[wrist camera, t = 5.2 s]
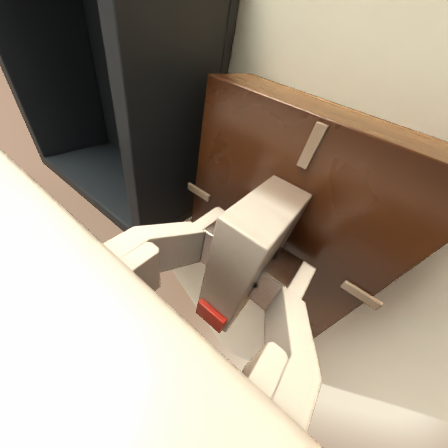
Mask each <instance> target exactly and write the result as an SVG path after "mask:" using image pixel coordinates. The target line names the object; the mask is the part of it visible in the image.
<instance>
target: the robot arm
mask: <svg viewBox="0 0 448 448" xmlns="http://www.w3.org/2000/svg"><path fill="white" fill-rule="evenodd" d="M223 212H224V210H223V209H221V208H220V207H216V208H214V209H213V210H211V211H210V212H208V213H207V214H205V215H204V216H202V217H201V218H199V219H198V220H196V221H195V222H193V223H192V222H190V221H188V222H177V223H165V224H154V225H143V226H134V227H132V228H130V229H128V230H126V231H125V232H123V233H121V234H119V235H118V236H116V237H114V238H112V239H110V240H108V241H106V242H105V243H102V242H101V241H100V240H99V239H97V238H96V237H95V236H94V235H93V234H92V233H91V232H90V231H89V230H88V229H87V228H86V227H85V226H83V225H82V224H81V223H80V222H79V221H78V220H77V219H76V218H75V217H74V216H73V215H72V214H71V213H69V212H68V211H67V210H66V209H65V208H64V207H63V206H62V205H61V204H60V203H59V202H58V201H56V200H55V199H54V198H53V197H52V196H51V195H50V194H49V193H48V192H47V191H46V190H45V189H43V188H42V187H41V186H40V185H39V184H38V183H37V182H36V181H35V180H34V179H33V178H32V177H31V176H29V175H28V174H27V173H26V172H25V171H24V170H23V169H22V168H21V167H20V166H19V165H18V164H16V163H15V162H14V161H13V160H12V159H11V158H10V157H9V156H8V155H7V154H6V153H4V152H3V151H2V150H0V448H323V447H322V446H321V445H320V444H319V443H318V442H317V441H316V440H314V439H313V438H312V437H311V436H310V435H309V434H308V433H307V431H308V428H309V425H310V421H311V418H312V414H313V411H314V407H315V404H316V401H317V397H318V394H319V390H320V387H321V384H322V376H321V371H320V367H319V362H318V358H317V353H316V349H315V344H314V339H313V335H312V330H311V326H310V321H309V317H308V312H307V308H306V303H305V302H304V301H303V300H302V298H303V296H304V294H305V292H306V290H307V288H308V286H309V284H310V281H311V279H312V277H313V275H314V273H315V271H316V268H315V267H313V266H311V265H310V264H308V263H307V262H305V261H303V260H301V259H300V258H298V257H297V256H295V255H293V254H292V253H290V252H289V251H287V250H285V249H284V248H282V247H280V248H279V249H278V250H277V252H276V253H275V255H274V257H273V259H271V260H270V261H269V262H268V264H267V265H266V266H265V268H264V269H263V270H262V272H261V274H260V275H259V277H258V279H257V281H256V284H255V285H254V287H253V288H252V290H251V292H250V293H249V295H248V297H249V298H250V299H251V300H252V301H254V302H255V303H256V304H257V305H259V306H260V307H261V308H262V309H264V310H265V346H264V347H263V348H262V349H261V350H260V351H259V352H258V353H257V354H256V355H255V356H254V357H253V358H252V359H251V360H250V361H249V362H248V363H247V364H246V365H245V367H244V369H243V371H242V372H241V371H240V370H239V369H238V368H237V367H236V366H235V365H234V364H232V363H231V362H230V361H229V360H228V359H227V358H226V357H225V356H224V355H223V354H222V353H220V351H218V350H217V349H216V348H215V347H214V346H213V345H212V344H211V343H210V342H209V341H208V340H207V339H205V338H204V337H203V336H202V335H201V334H200V333H199V332H198V331H197V330H196V329H195V328H194V327H192V326H191V325H190V324H189V323H188V322H187V321H186V320H185V319H184V318H183V317H182V316H181V315H180V314H178V313H177V312H176V311H175V310H174V309H173V308H172V307H171V306H170V305H169V304H168V303H167V302H166V301H164V300H163V299H162V298H161V297H160V296H159V295H158V294H157V293H156V292H155V291H156V290H157V289H158V288H159V287H160V272H164V271H168V270H171V269H175V268H179V267H182V266H186V265H190V264H193V263H197V262H200V261H201V262H203V263H204V264H205V265H207V261H208V256H209V252H210V247H211V243H212V238H213V234H214V229H215V225H216V220H217V217H218V216H219V215H220V214H222V213H223Z"/></svg>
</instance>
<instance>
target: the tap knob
mask: <svg viewBox="0 0 448 448" xmlns="http://www.w3.org/2000/svg"><path fill="white" fill-rule="evenodd" d="M311 198H312V194H310V193H308V192H306V191H304V190H302V189H300V188H298V187H297V186H295V185H293V184H291V183H289V182H287V181H285V180H283V179H281V178H279V177H277V176H275V175H273V176H272V177H271V178H269V179H268V180H267V181H265V182H264V183H262V184H261V185H260V186H258V187H257V188H256V189H254V190H253V191H252V192H250V193H249V194H247V195H246V196H245V197H243V198H242V199H241V200H239V201H238V202H237V203H235V204H234V205H233V206H231V207H230V208H228V209H227V210H226V211H224V212H223V213H222V214H220V215H219V216H218V217H217V220H216V225H215V229H214V234H213V238H212V243H211V247H210V252H209V256H208V261H207V265H206V270H205V274H204V278H203V283H202V287H201V292H200V296H199V301H198V305H197V309H196V313H197V314H198V315H199V316H200V317H202V318H203V319H204V320H205V321H206V322H207V323H208V324H209V325H211V326H212V327H213V328H214V329H215V330H216V331H217V332H218V333H220V332H221V331H222V330H223V331H224V332H226V331H227V329H228V328H229V327H230V325H231V324H232V322H233V321H234V320H235V318H236V317H237V315H238V314H239V313H240V311H241V310H242V309H243V307H244V306H245V304H246V303H247V302H248V300H249V299H250V298H249V297H248V295H249V293H250V292H251V290H252V288H253V287H254V285H255V284H256V281H257V279H258V277H259V275H260V274H261V272H262V270H263V269H264V268H265V266H266V265H267V264H268V262H269V261H270V260H271V259H273V257H274V255H275V253H276V252H277V250H278V249H279V248H280V247H283V246H284V244H285V242H286V241H287V239H288V237H289V235H290V234H291V232H292V230H293V229H294V227H295V225H296V224H297V222H298V220H299V219H300V217H301V215H302V213H303V212H304V210H305V208H306V207H307V205H308V203H309V202H310V200H311Z"/></svg>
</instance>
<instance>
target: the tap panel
mask: <svg viewBox="0 0 448 448" xmlns="http://www.w3.org/2000/svg"><path fill="white" fill-rule="evenodd" d="M273 175H275V176H277V177H279V178H281V179H283V180H285V181H287V182H289V183H291V184H293V185H295V186H297V187H298V188H300V189H302V190H304V191H306V192H308V193H310V194H312V198H311V200H310V202H309V203H308V205H307V207H306V208H305V210H304V212H303V213H302V215H301V217H300V219H299V220H298V222H297V224H296V225H295V227H294V229H293V230H292V232H291V234H290V235H289V237H288V239H287V241H286V242H285V244H284V246H283V247H282V248H284V249H285V250H287V251H289V252H290V253H292V254H293V255H295V256H297V257H298V258H300V259H301V260H303V261H305V262H307V263H308V264H310V265H311V266H313V267H315V268H316V271H315V273H314V275H313V277H312V279H311V281H310V284H309V286H308V288H307V290H306V292H305V294H304V296H303V298H302V300H303V301H304V302H305V303H306V308H307V312H308V317H309V321H310V326H311V330H312V335H313V338H315V337H316V336H317V335H319V334H320V333H322V332H323V331H325V330H326V329H327V328H329V327H330V326H332V325H333V324H334V323H336V322H337V321H339V320H340V319H341V318H343V317H344V316H346V315H347V314H348V313H350V312H351V311H353V310H354V309H355V308H357V307H358V306H360V305H361V304H362V303H366V304H367V305H369V306H371V307H372V308H374V309H375V310H376V309H378V308H380V307H381V306H382V304H383V303H382V302H381V301H379V300H377V299H376V298H374V297H373V296H374V295H375V294H377V293H378V292H379V291H381V290H382V289H384V288H385V287H386V286H388V285H389V284H391V283H392V282H393V281H395V280H396V279H398V278H399V277H400V276H402V275H403V274H405V273H406V272H407V271H409V270H410V269H412V268H413V267H414V266H416V265H417V264H419V263H420V262H421V261H423V260H424V259H426V258H427V257H429V256H430V255H431V254H433V253H434V252H436V251H437V250H438V249H440V248H441V247H443V246H444V245H445V244H447V243H448V142H446V141H443V140H440V139H438V138H435V137H432V136H429V135H426V134H423V133H420V132H417V131H415V130H412V129H409V128H406V127H403V126H400V125H397V124H394V123H391V122H389V121H386V120H383V119H380V118H377V117H374V116H371V115H368V114H365V113H363V112H360V111H357V110H354V109H351V108H348V107H345V106H342V105H340V104H337V103H334V102H331V101H328V100H325V99H322V98H319V97H316V96H314V95H311V94H308V93H305V92H302V91H299V90H296V89H293V88H290V87H288V86H285V85H282V84H279V83H276V82H273V81H270V80H267V79H265V78H262V77H259V76H256V75H253V74H208V80H207V89H206V97H205V106H204V115H203V123H202V132H201V141H200V150H199V158H198V167H197V176H196V185H193V184H192V183H188V190H190V191H191V192H193V193H194V202H193V211H192V220H191V222H192V223H193V222H195V221H196V220H198V219H199V218H201V217H202V216H204V215H205V214H207V213H208V212H210V211H211V210H213V209H214V208H216V207H220V208H221V209H223V210H224V211H226V210H227V209H228V208H230V207H231V206H233V205H234V204H235V203H237V202H238V201H239V200H241V199H242V198H243V197H245V196H246V195H247V194H249V193H250V192H252V191H253V190H254V189H256V188H257V187H258V186H260V185H261V184H262V183H264V182H265V181H267V180H268V179H269V178H271V177H272V176H273Z"/></svg>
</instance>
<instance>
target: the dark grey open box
mask: <svg viewBox="0 0 448 448" xmlns="http://www.w3.org/2000/svg"><path fill="white" fill-rule="evenodd" d="M238 4H239V0H0V66H1V68H2V71H3V73H4V75H5V78H6V80H7V82H8V84H9V87H10V89H11V91H12V94H13V96H14V98H15V100H16V103H17V105H18V107H19V110H20V112H21V114H22V116H23V119H24V121H25V123H26V126H27V128H28V130H29V132H30V135H31V137H32V139H33V141H34V144H35V146H36V148H37V150H38V153H39V154H40V157H41V159H42V162H43V163H44V164H45V165H46V166H47V167H48V168H50V169H51V170H52V171H53V172H54V173H56V174H57V175H58V176H59V177H60V178H61V179H63V180H64V181H65V182H66V183H67V184H69V185H70V186H71V187H72V188H73V189H74V190H76V191H77V192H78V193H79V194H80V195H81V196H83V197H84V198H85V199H86V200H87V201H88V202H90V203H91V204H92V205H93V206H94V207H96V208H97V209H98V210H99V211H100V212H101V213H103V214H104V215H105V216H106V217H107V218H109V219H110V220H111V221H112V222H113V223H114V224H115V225H117V226H118V227H119V228H120V229H121V230H123V231H124V232H125V231H126V230H128V229H130V228H132V227H134V226H143V225H154V224H165V223H177V222H183V221H185V220H187V219H188V218H190V217H191V216H192V211H193V202H194V193H193V192H191V191H190V190H188V183H192V184H193V185H196V176H197V167H198V158H199V150H200V141H201V132H202V123H203V115H204V106H205V97H206V89H207V80H208V74H227V71H228V65H229V59H230V53H231V47H232V41H233V34H234V28H235V22H236V16H237V10H238Z"/></svg>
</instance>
